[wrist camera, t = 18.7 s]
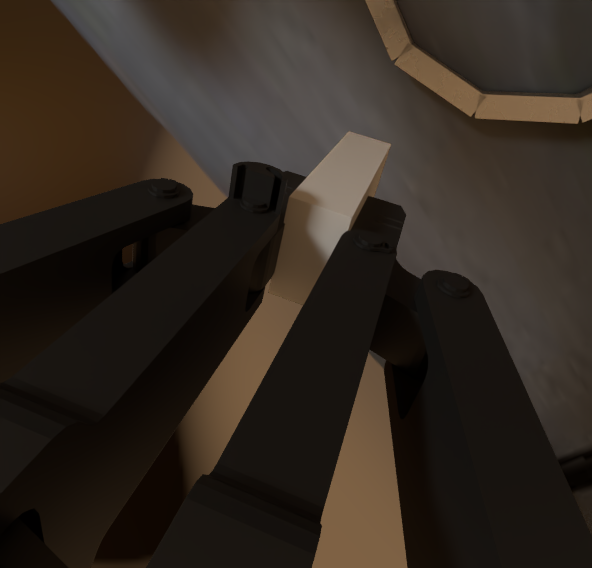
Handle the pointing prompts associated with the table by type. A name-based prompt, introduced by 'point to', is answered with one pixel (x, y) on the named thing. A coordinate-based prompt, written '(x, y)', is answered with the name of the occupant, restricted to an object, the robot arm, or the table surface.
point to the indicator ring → (463, 91)
